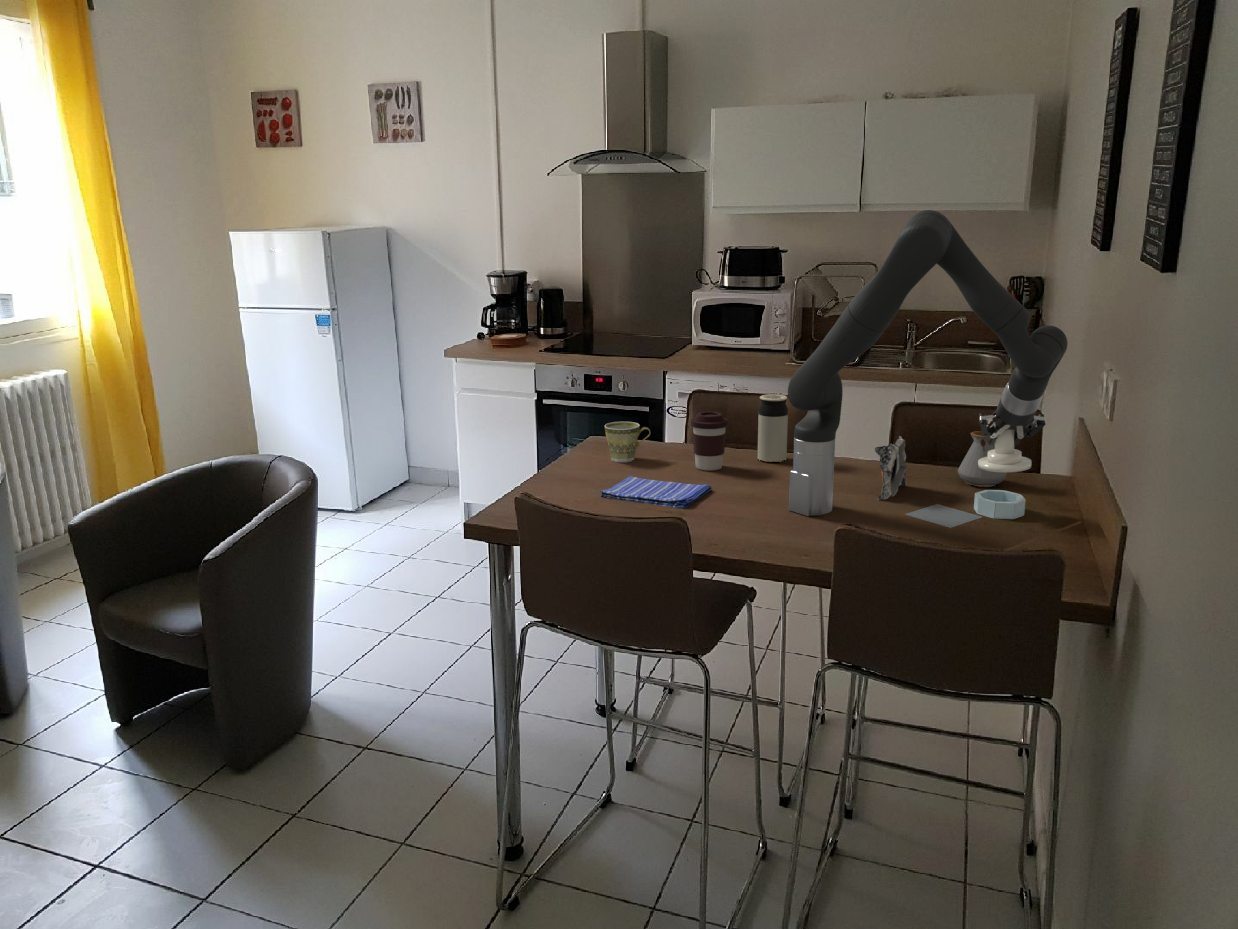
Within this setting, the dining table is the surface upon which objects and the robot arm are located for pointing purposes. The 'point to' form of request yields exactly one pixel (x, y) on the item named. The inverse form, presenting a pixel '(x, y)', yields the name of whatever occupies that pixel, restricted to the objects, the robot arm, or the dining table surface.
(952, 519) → the mat
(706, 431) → the coffee cup
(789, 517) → the dining table surface
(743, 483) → the dining table surface
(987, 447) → the coffee pot
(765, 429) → the travel mug
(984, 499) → the bowl
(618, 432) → the ceramic cup
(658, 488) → the dish towel
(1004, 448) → the lid
